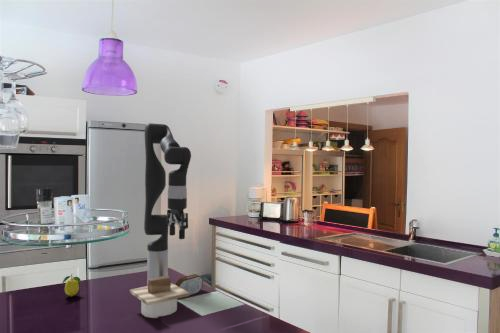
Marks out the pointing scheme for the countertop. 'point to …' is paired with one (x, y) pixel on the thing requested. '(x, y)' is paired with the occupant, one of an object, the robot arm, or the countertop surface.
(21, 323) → the countertop surface
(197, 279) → the tin
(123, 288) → the countertop surface
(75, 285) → the lemon
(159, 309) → the bowl
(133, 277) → the countertop surface
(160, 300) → the cover board
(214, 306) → the mat
